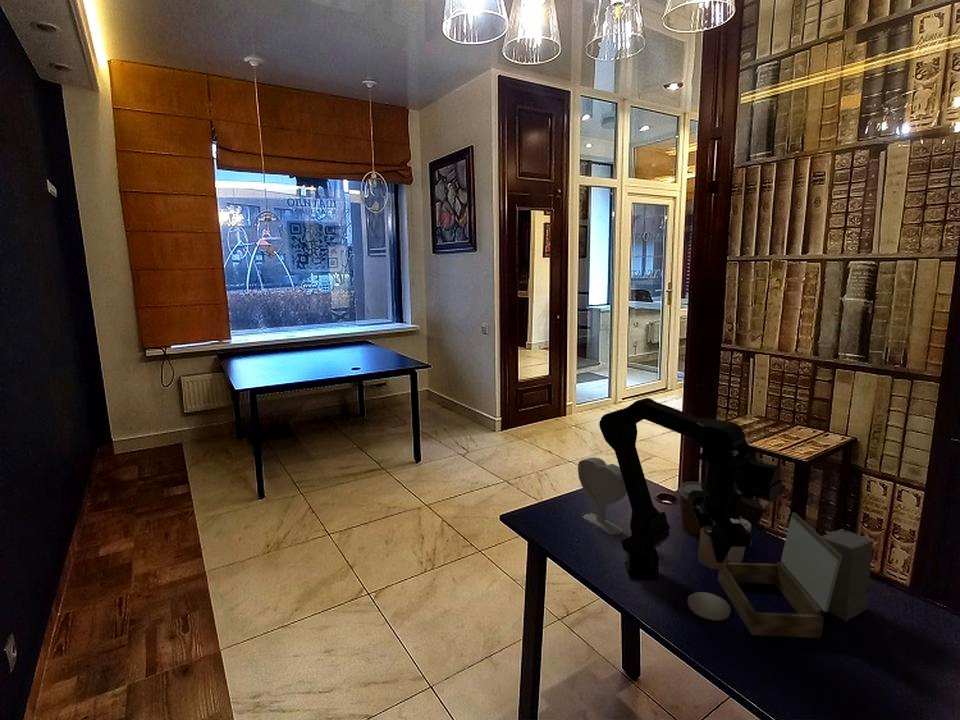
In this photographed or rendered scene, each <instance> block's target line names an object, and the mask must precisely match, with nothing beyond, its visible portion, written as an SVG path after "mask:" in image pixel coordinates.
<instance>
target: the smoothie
mask: <svg viewBox="0 0 960 720" xmlns="http://www.w3.org/2000/svg"><path fill="white" fill-rule="evenodd" d="M730 521H731V522H732V523H741V524H742V525H743V526H744V527H745V529H746V530H747V531H748V532H749V533H750V532H751V531H752V523H751V522H750V521H749V520H748V519H746V518H743V517H741V516H740V520H738V519H733V518H730ZM745 551H746V547H731V548H730V550H729V554H728V562H734V563H743V558H744V554H745Z"/></svg>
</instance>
